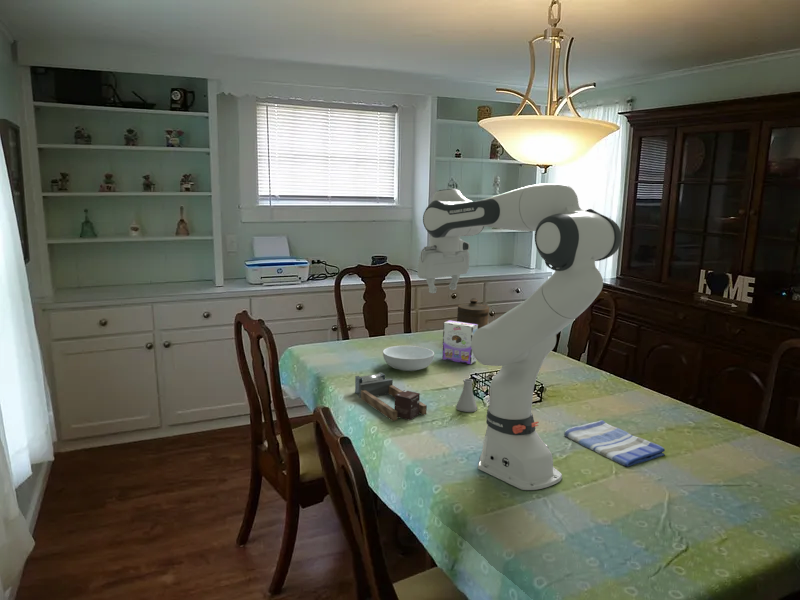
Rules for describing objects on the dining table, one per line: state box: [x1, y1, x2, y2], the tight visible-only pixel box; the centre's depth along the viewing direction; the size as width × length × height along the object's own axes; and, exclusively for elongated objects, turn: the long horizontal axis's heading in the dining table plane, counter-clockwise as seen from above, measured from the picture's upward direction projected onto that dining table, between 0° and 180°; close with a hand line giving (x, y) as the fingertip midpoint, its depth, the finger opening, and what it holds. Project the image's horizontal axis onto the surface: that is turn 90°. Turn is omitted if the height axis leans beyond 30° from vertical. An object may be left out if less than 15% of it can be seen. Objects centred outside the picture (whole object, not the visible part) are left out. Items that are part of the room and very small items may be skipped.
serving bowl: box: [382, 345, 435, 372], centre depth 235 cm, size 21×21×7 cm
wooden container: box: [456, 297, 490, 329], centre depth 273 cm, size 15×15×22 cm
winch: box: [354, 371, 386, 396], centre depth 206 cm, size 4×10×6 cm, turn 121°
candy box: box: [442, 319, 478, 365], centre depth 246 cm, size 14×6×16 cm, turn 58°
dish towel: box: [563, 420, 666, 467], centre depth 168 cm, size 17×24×3 cm
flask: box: [455, 378, 478, 413], centre depth 192 cm, size 7×7×10 cm
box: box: [393, 389, 420, 421], centre depth 185 cm, size 6×6×7 cm
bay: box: [358, 377, 428, 422], centre depth 193 cm, size 24×12×5 cm, turn 31°
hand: (442, 291), depth 173 cm, fingers open, 8 cm apart
